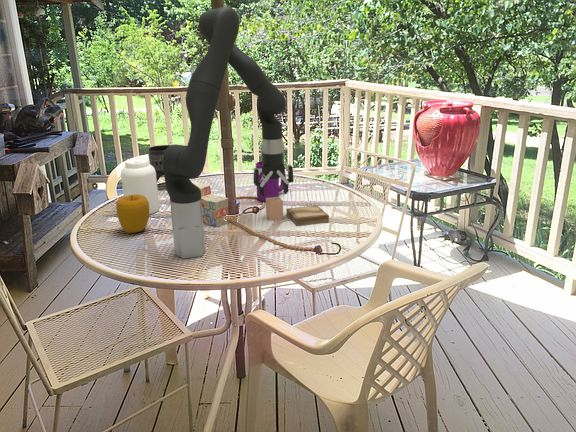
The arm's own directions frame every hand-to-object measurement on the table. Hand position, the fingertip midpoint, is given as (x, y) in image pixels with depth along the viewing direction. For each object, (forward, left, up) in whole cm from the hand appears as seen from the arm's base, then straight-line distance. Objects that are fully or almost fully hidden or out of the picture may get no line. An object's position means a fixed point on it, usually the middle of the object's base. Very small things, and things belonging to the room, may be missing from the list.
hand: (274, 194), depth 180 cm
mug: (+24, -6, -9) cm, 26 cm away
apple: (+2, +49, -9) cm, 50 cm away
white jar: (+23, +46, -9) cm, 52 cm away
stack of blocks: (+7, +25, -9) cm, 27 cm away
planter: (+53, +35, -9) cm, 64 cm away
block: (0, 0, -9) cm, 9 cm away
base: (-5, -11, -9) cm, 15 cm away
